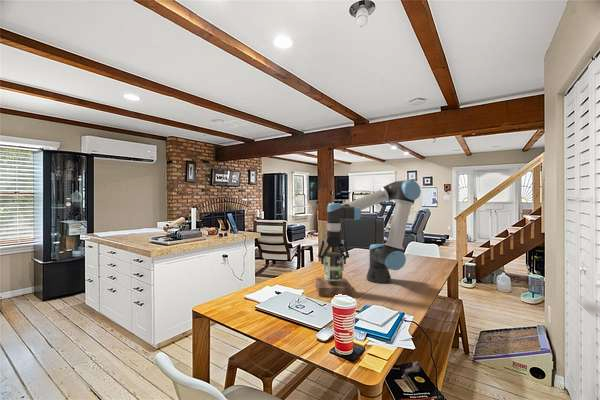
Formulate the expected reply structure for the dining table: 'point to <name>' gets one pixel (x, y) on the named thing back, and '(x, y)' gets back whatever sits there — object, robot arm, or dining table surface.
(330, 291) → the walnut block
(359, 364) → the dining table surface
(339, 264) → the coffee can
